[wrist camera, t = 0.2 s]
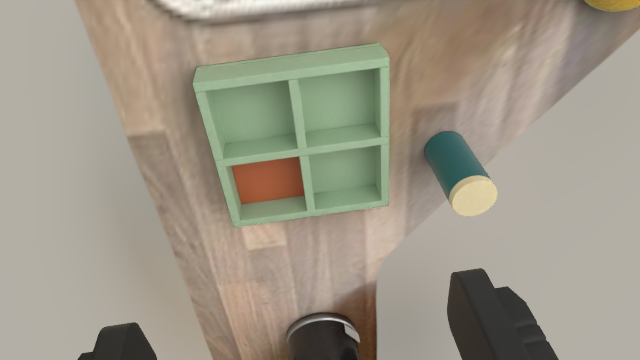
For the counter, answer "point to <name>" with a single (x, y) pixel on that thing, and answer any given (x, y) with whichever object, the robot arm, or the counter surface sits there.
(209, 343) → the counter surface
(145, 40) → the counter surface
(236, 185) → the grid
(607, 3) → the bread roll
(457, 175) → the teal cream-capped cylinder
